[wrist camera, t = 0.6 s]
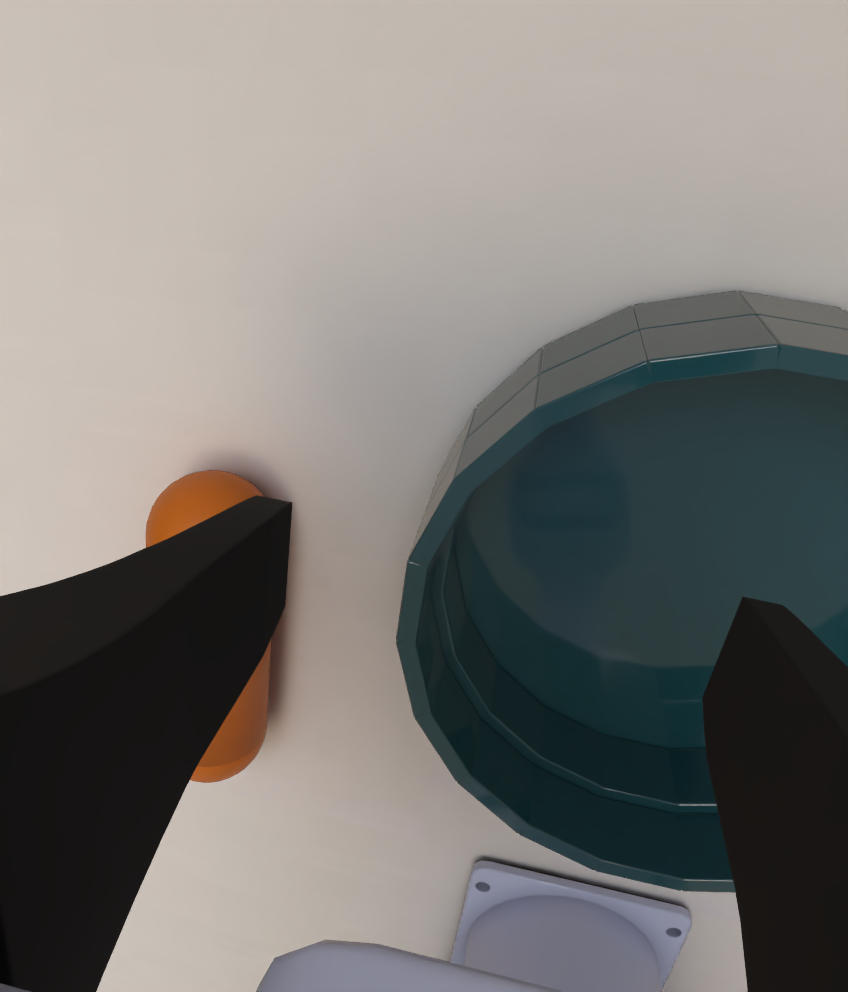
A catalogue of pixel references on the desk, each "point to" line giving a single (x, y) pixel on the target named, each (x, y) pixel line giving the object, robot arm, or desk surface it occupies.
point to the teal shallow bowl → (627, 568)
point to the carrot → (248, 716)
